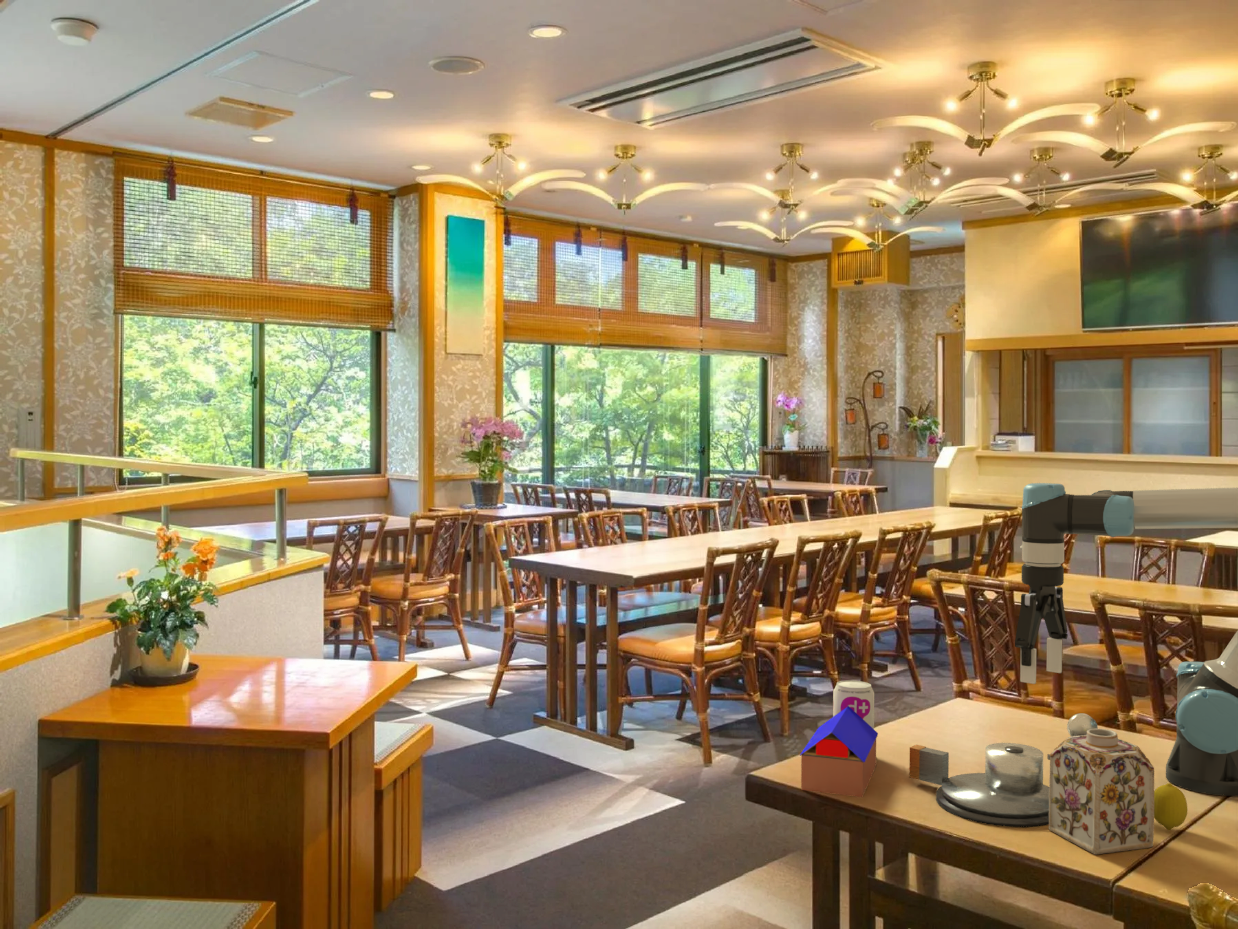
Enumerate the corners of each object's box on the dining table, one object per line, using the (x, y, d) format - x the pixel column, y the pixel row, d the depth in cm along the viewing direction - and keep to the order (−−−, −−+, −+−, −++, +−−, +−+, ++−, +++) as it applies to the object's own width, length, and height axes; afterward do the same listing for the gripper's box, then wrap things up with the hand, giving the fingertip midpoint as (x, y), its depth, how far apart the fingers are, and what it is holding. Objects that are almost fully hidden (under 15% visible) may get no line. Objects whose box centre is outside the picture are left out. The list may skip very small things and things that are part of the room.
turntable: (1077, 797, 195) (1077, 765, 194) (1031, 826, 180) (1031, 792, 180) (937, 764, 213) (938, 735, 213) (885, 788, 199) (886, 757, 199)
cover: (1051, 782, 199) (1052, 748, 198) (1029, 796, 192) (1029, 760, 191) (999, 770, 206) (999, 737, 205) (975, 783, 198) (976, 749, 198)
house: (877, 766, 217) (878, 708, 216) (864, 798, 198) (864, 735, 198) (818, 759, 221) (818, 703, 220) (799, 790, 202) (799, 729, 202)
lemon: (1143, 824, 185) (1144, 778, 184) (1174, 823, 185) (1175, 777, 185) (1162, 837, 179) (1163, 789, 179) (1194, 835, 180) (1195, 788, 179)
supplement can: (874, 763, 217) (875, 689, 217) (832, 761, 219) (833, 687, 219) (872, 752, 225) (873, 681, 225) (832, 750, 227) (833, 679, 227)
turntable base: (1084, 804, 195) (1084, 798, 195) (1034, 837, 179) (1034, 831, 179) (969, 776, 210) (969, 771, 210) (913, 805, 194) (913, 799, 194)
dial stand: (1091, 797, 198) (1092, 711, 197) (1099, 805, 194) (1100, 717, 193) (1043, 796, 198) (1045, 710, 198) (1051, 804, 194) (1052, 716, 194)
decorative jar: (1155, 848, 174) (1157, 738, 174) (1095, 857, 171) (1097, 745, 170) (1103, 822, 186) (1104, 719, 185) (1045, 830, 182) (1047, 724, 182)
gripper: (1048, 556, 217) (1047, 664, 218) (996, 568, 200) (995, 684, 201) (1086, 559, 212) (1085, 669, 213) (1036, 572, 195) (1034, 691, 196)
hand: (1041, 677), depth 207 cm, fingers open, 11 cm apart
